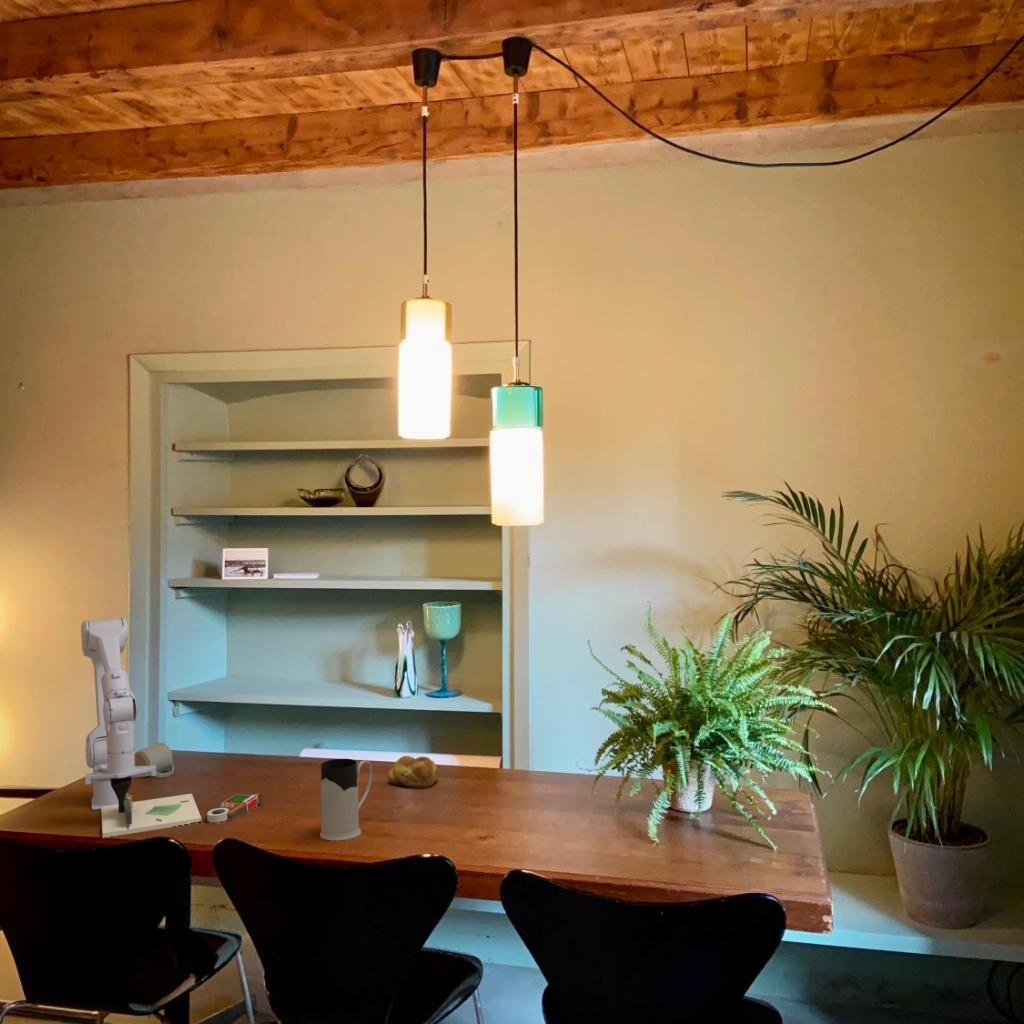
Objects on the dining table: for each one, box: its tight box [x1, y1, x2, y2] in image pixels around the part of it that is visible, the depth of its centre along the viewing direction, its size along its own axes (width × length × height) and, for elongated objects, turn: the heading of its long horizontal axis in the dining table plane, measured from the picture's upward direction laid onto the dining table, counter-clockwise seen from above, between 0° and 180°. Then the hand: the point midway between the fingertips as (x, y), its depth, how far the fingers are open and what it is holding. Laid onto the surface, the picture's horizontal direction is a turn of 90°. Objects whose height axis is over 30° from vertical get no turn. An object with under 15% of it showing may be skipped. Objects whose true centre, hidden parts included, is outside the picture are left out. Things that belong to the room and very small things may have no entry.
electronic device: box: [205, 791, 263, 822], centre depth 206 cm, size 7×3×15 cm
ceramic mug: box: [135, 742, 175, 779], centre depth 238 cm, size 11×8×8 cm
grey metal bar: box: [118, 793, 134, 825], centre depth 201 cm, size 14×3×3 cm, turn 26°
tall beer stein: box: [319, 758, 373, 841], centre depth 192 cm, size 9×14×15 cm, turn 146°
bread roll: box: [387, 755, 439, 789], centre depth 225 cm, size 13×10×8 cm
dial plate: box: [100, 793, 202, 839], centre depth 204 cm, size 20×20×1 cm
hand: (121, 811), depth 200 cm, fingers closed, pressing on grey metal bar
